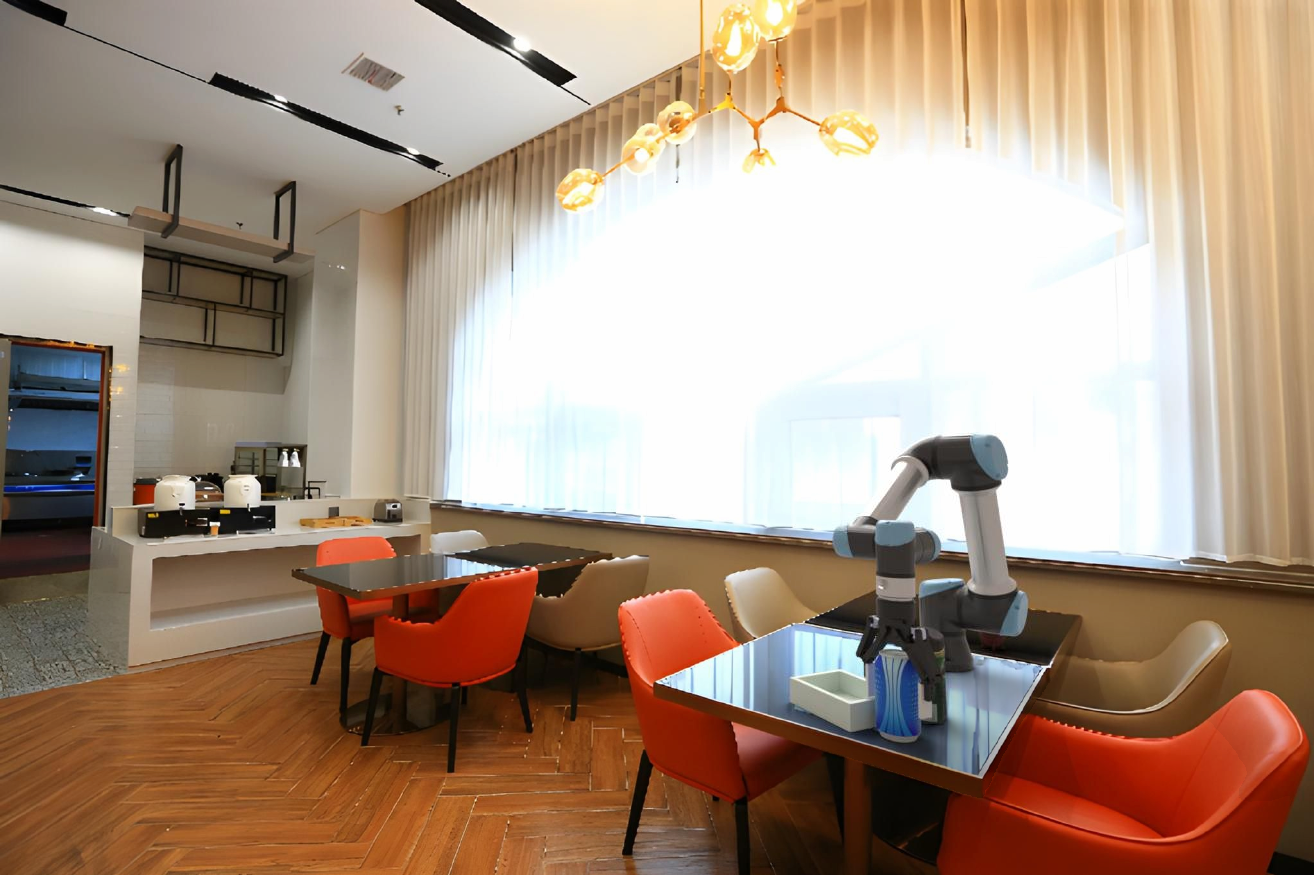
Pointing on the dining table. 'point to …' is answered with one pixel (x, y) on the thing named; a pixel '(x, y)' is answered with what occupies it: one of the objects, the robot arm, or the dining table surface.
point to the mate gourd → (992, 640)
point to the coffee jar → (939, 688)
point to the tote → (835, 698)
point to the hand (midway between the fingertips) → (897, 706)
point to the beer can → (896, 696)
